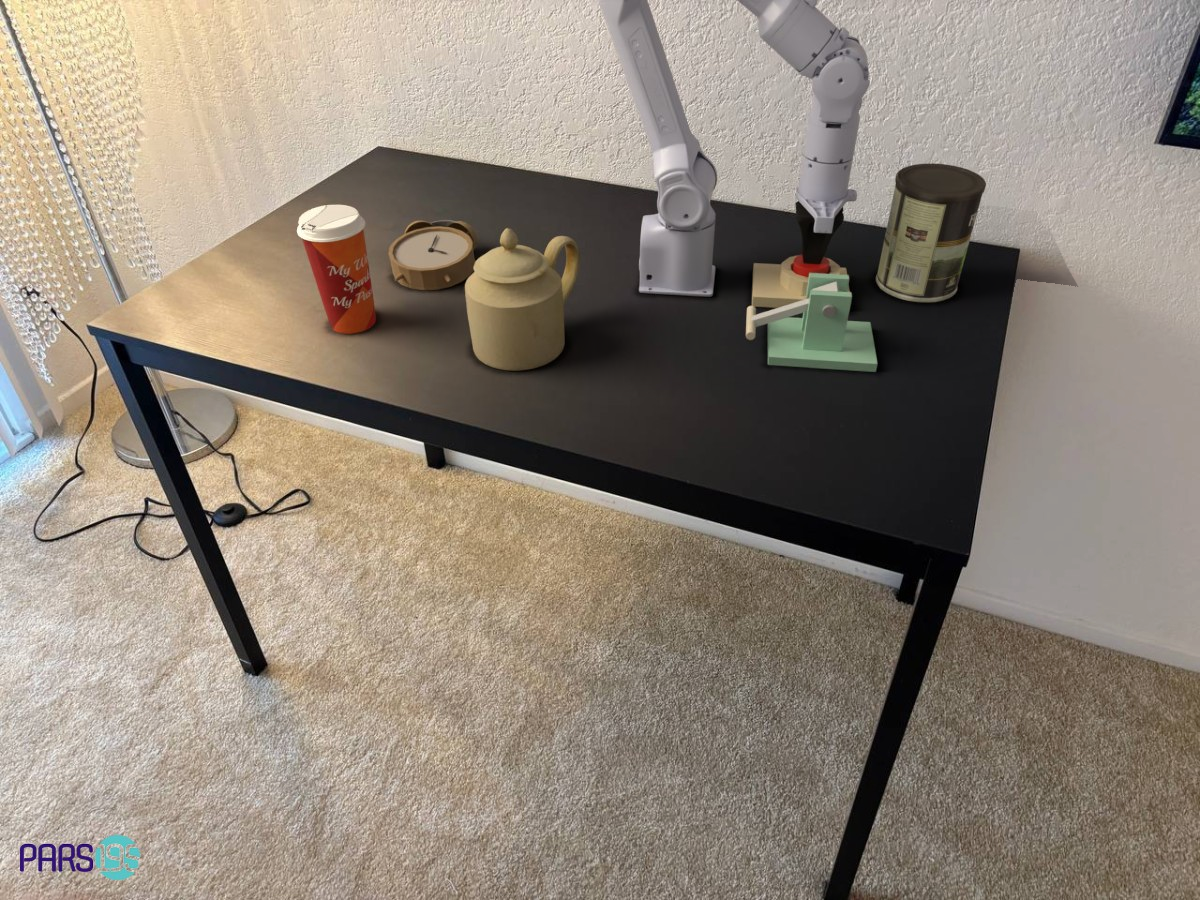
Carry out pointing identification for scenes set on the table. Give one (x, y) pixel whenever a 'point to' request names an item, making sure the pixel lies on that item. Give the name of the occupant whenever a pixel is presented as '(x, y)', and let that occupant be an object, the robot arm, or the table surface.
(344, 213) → the paper cup
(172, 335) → the table surface
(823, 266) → the red button
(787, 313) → the lever
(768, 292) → the button housing
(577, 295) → the table surface
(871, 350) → the bracket
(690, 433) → the table surface
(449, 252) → the alarm clock
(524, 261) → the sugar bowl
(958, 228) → the coffee can
